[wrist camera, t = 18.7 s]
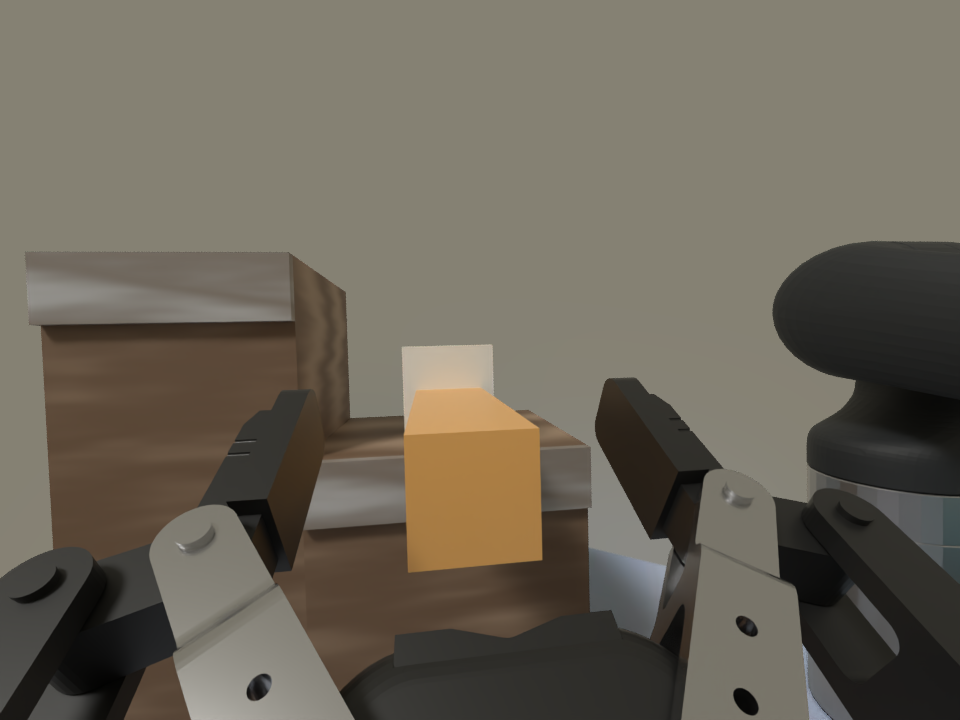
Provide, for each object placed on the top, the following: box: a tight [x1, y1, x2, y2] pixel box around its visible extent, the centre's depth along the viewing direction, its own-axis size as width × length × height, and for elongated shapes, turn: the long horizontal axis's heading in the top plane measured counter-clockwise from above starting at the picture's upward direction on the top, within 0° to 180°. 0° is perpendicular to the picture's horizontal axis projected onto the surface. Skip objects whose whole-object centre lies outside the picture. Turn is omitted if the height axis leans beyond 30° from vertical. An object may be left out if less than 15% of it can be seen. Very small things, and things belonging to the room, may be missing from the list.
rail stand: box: [25, 252, 592, 720], centre depth 29 cm, size 15×28×32 cm, turn 97°
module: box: [402, 345, 542, 573], centre depth 23 cm, size 25×5×6 cm, turn 7°
